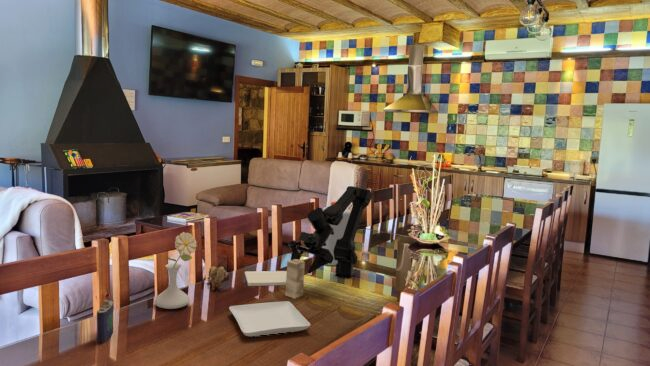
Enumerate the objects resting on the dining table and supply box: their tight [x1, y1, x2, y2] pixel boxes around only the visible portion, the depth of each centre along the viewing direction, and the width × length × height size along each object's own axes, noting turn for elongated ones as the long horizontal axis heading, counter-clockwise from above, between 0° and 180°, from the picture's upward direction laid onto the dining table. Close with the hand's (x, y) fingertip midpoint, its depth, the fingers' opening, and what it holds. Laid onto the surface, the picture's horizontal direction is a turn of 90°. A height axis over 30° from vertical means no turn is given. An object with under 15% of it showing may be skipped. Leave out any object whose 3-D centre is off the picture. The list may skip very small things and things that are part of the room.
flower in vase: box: [153, 231, 197, 310], centre depth 160 cm, size 13×11×25 cm
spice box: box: [284, 259, 306, 300], centre depth 178 cm, size 5×5×13 cm
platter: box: [244, 270, 287, 287], centre depth 194 cm, size 18×14×1 cm
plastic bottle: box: [322, 201, 351, 267], centre depth 224 cm, size 15×15×28 cm
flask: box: [96, 299, 114, 345], centre depth 136 cm, size 9×3×11 cm, turn 8°
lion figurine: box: [206, 265, 229, 291], centre depth 182 cm, size 15×5×9 cm, turn 35°
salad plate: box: [228, 300, 312, 338], centre depth 152 cm, size 21×21×3 cm
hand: (299, 269), depth 179 cm, fingers open, 9 cm apart
